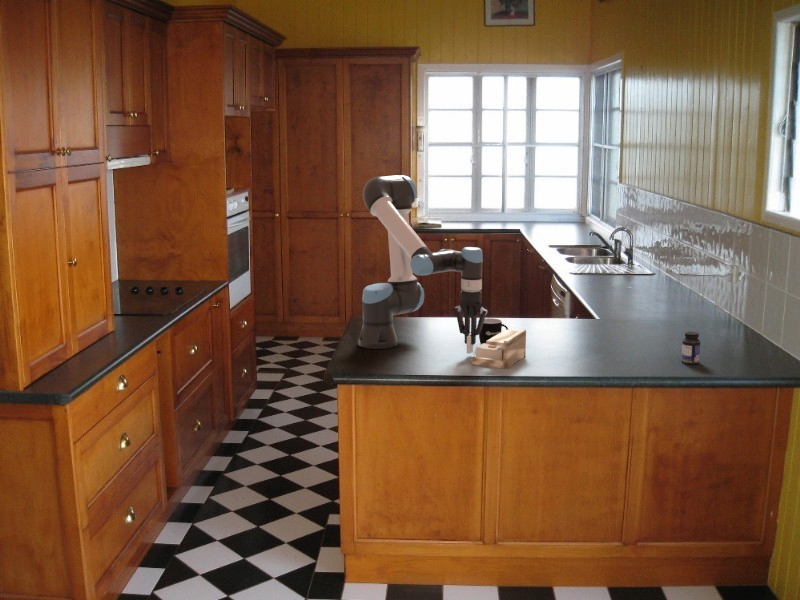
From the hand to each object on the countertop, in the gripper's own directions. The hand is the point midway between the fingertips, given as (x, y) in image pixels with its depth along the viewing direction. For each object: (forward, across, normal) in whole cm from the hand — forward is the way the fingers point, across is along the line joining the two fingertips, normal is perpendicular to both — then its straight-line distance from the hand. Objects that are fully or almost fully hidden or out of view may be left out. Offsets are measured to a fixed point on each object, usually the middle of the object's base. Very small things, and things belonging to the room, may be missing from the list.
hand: (469, 352), depth 327 cm
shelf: (+1, +11, 0) cm, 11 cm away
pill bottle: (+1, +74, +26) cm, 79 cm away
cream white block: (+2, +9, -1) cm, 9 cm away
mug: (+2, +2, +18) cm, 18 cm away
